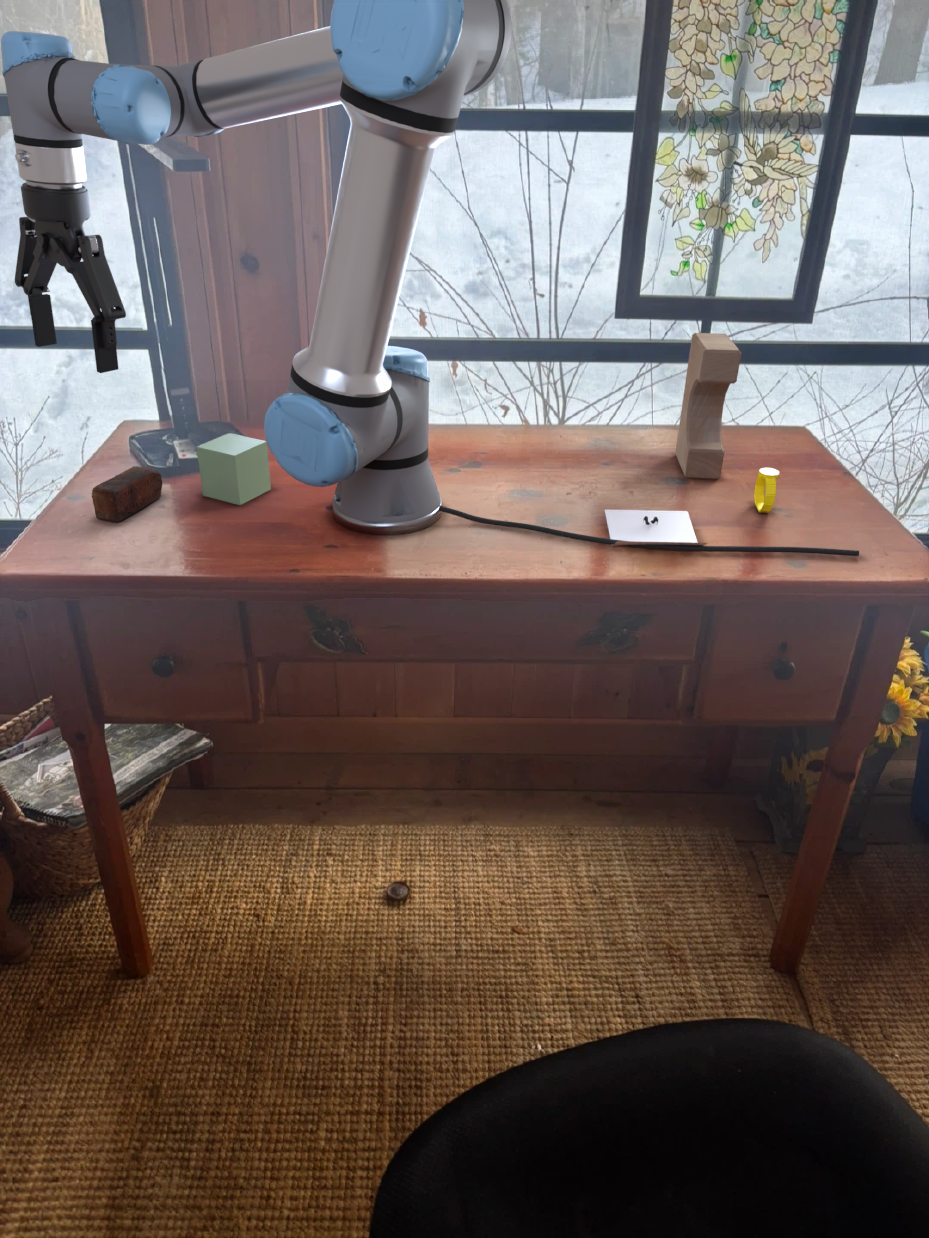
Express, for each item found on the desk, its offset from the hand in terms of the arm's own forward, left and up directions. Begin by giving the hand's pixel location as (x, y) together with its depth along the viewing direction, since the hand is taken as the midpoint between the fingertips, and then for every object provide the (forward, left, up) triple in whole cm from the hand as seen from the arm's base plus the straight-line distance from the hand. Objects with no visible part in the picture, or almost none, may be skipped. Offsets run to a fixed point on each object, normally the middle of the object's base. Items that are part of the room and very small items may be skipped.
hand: (76, 357), depth 122 cm
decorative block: (-71, -57, -20) cm, 94 cm away
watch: (-84, -45, -20) cm, 98 cm away
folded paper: (-73, -28, -20) cm, 81 cm away
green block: (-15, -11, -20) cm, 28 cm away
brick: (-6, +1, -20) cm, 21 cm away
